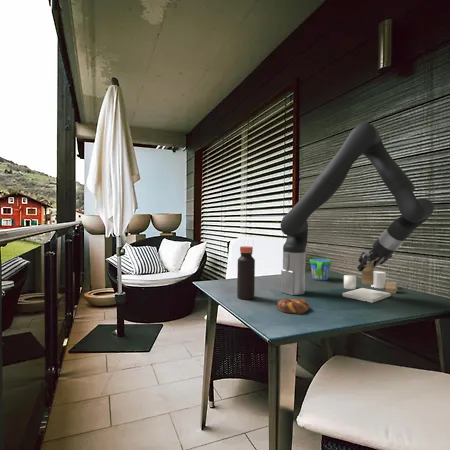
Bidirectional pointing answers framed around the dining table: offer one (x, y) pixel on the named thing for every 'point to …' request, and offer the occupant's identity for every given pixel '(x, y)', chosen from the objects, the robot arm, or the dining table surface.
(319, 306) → the dining table surface
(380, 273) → the white tapered cylinder
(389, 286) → the wooden block
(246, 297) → the bottle
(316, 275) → the snack cup
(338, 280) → the dining table surface
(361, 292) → the stone tile
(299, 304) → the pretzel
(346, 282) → the white rounded cylinder
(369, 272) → the pepper mill
